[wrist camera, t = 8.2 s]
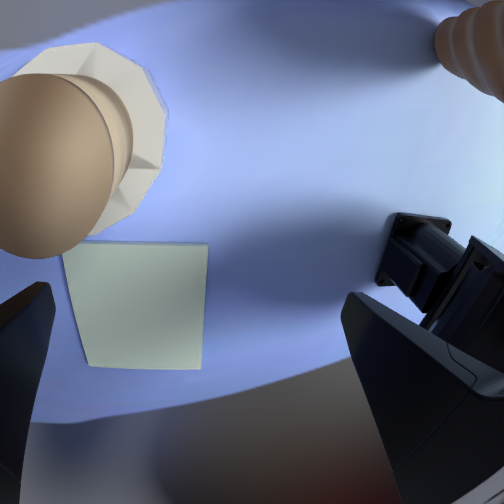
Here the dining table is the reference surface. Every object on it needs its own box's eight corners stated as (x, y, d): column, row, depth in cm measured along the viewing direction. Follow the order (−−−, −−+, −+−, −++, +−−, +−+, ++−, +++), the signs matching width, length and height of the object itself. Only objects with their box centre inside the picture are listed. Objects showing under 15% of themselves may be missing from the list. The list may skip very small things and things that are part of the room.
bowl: (175, 48, 14) (173, 40, 12) (162, 213, 19) (159, 236, 16) (17, 61, 12) (-9, 60, 9) (21, 213, 17) (0, 234, 14)
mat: (208, 243, 21) (208, 246, 20) (200, 365, 26) (201, 369, 26) (62, 240, 18) (60, 243, 18) (90, 362, 24) (89, 366, 24)
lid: (138, 71, 12) (116, 64, 8) (132, 210, 15) (114, 261, 11) (11, 83, 10) (-47, 90, 6) (16, 210, 14) (-28, 256, 10)
